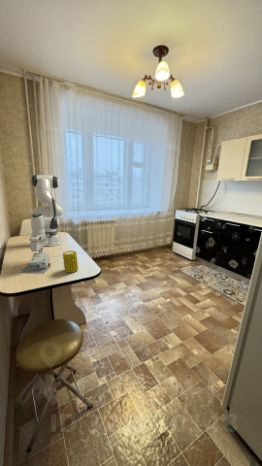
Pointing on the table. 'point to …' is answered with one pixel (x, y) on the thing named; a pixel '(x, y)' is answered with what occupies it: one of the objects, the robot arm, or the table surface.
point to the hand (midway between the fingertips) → (40, 253)
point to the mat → (33, 270)
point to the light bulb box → (40, 260)
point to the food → (70, 261)
